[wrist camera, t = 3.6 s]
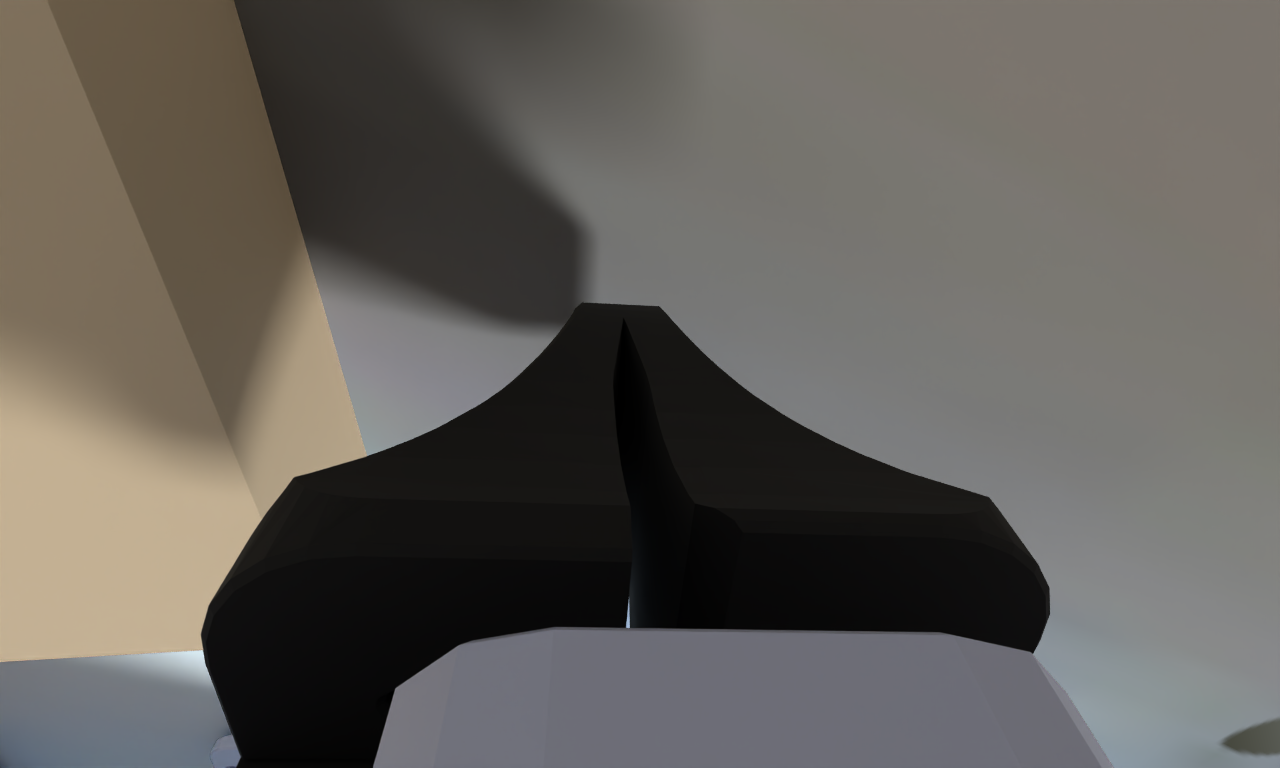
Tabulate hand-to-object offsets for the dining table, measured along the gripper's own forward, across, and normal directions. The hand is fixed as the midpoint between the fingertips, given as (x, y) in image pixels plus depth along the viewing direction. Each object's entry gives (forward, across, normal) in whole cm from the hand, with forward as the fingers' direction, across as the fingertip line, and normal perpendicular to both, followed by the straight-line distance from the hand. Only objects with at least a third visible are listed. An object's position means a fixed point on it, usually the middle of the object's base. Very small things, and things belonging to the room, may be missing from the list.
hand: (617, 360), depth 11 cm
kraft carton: (+2, +9, 0) cm, 9 cm away
